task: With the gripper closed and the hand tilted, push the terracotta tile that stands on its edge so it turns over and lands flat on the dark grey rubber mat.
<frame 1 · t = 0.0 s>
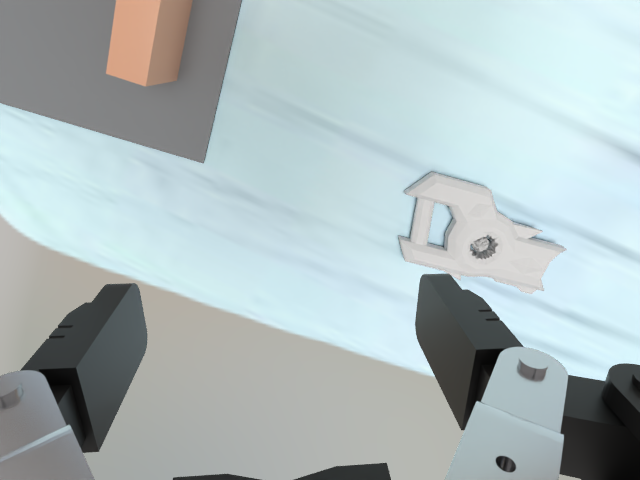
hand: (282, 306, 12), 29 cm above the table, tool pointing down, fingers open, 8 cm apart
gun: (472, 231, 45), on the table
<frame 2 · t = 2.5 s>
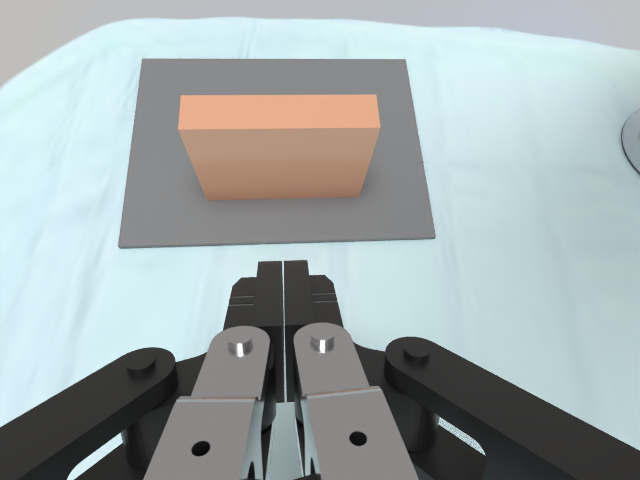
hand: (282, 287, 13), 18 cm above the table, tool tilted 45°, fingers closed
tile: (283, 184, 34), resting on mat
mat: (279, 144, 36), on the table
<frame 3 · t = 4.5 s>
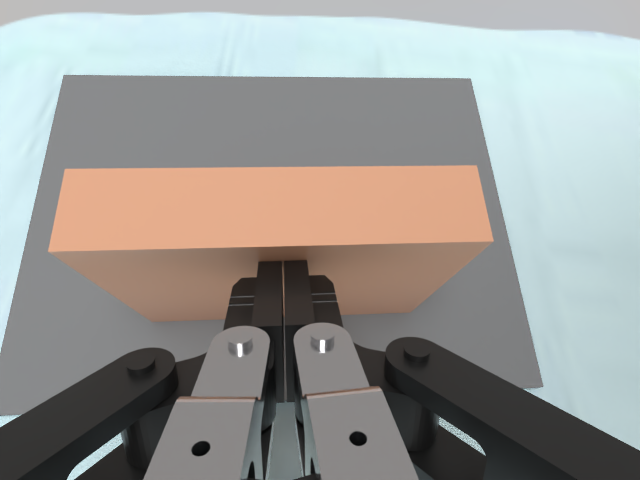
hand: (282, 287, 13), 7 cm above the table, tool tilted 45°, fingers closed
tile: (283, 291, 20), resting on mat, touching gripper
mat: (276, 216, 22), on the table
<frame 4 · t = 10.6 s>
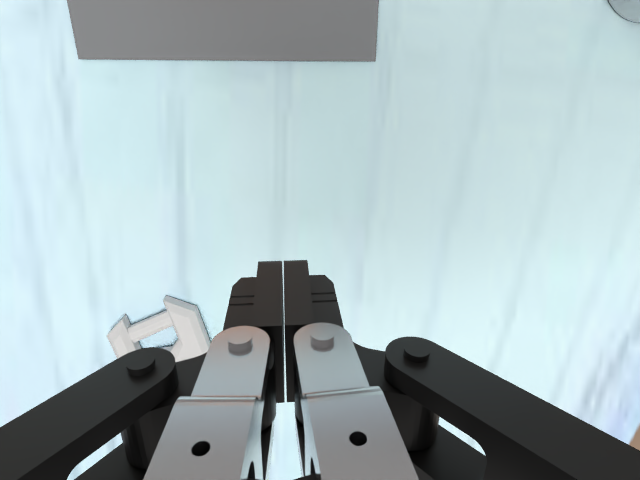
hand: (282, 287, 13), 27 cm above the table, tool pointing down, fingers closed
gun: (175, 365, 47), on the table
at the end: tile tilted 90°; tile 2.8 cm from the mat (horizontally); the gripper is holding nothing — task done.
